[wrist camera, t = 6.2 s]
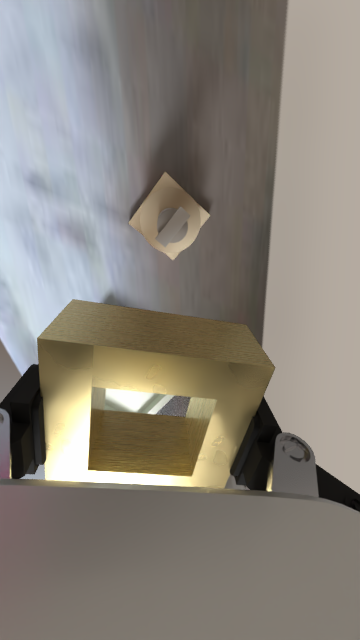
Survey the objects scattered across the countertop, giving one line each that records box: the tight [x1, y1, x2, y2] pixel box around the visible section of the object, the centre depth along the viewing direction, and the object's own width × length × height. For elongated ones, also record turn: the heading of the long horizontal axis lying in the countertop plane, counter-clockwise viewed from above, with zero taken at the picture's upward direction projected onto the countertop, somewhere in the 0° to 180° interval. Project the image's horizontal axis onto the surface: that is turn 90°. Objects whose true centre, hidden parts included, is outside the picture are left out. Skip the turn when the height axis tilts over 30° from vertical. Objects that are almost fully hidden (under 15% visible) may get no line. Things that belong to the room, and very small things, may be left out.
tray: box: [104, 388, 175, 414], centre depth 34 cm, size 14×14×2 cm
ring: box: [37, 299, 275, 488], centre depth 10 cm, size 7×9×3 cm
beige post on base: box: [129, 172, 210, 260], centre depth 23 cm, size 6×6×9 cm
